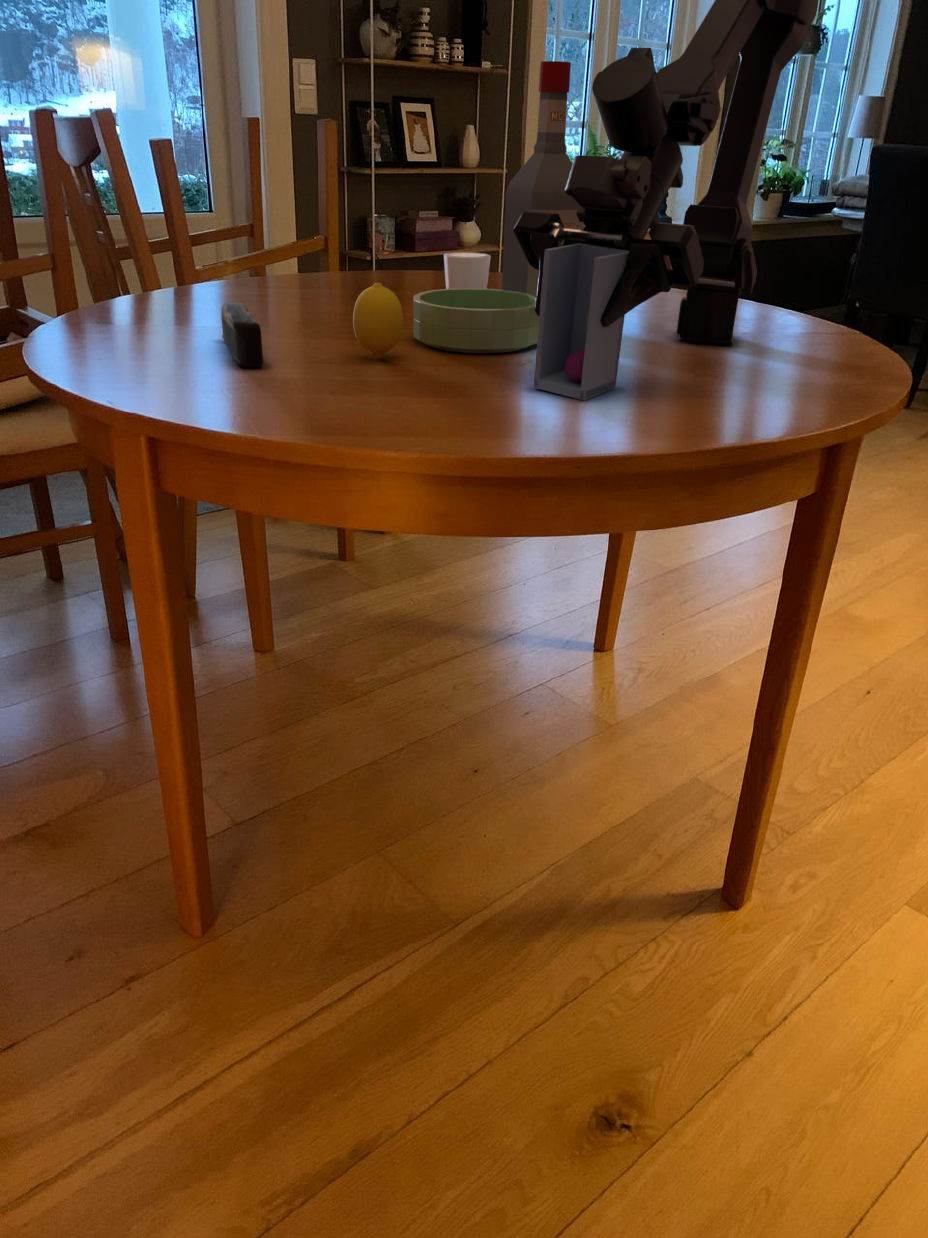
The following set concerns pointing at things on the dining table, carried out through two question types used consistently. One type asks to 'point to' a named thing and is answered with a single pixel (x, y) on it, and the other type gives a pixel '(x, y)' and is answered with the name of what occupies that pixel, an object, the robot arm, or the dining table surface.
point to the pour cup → (578, 319)
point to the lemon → (378, 319)
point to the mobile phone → (241, 335)
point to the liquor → (541, 178)
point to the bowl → (475, 320)
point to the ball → (575, 366)
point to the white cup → (466, 270)
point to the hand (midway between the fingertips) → (569, 318)
